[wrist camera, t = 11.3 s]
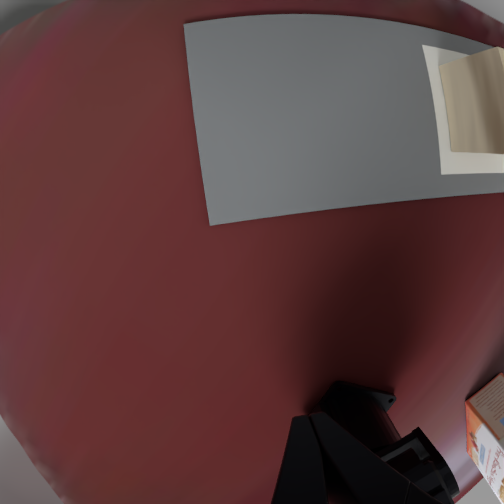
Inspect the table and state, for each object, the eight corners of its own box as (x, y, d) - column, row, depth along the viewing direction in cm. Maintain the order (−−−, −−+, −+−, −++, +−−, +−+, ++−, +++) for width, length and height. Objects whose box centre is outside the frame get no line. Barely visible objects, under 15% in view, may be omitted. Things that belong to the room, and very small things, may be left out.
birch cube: (499, 46, 10) (437, 66, 16) (517, 155, 11) (450, 151, 17) (549, 68, 10) (492, 78, 16) (562, 159, 11) (502, 153, 17)
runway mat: (509, 54, 15) (512, 54, 15) (525, 189, 19) (529, 190, 18) (184, 26, 15) (183, 24, 14) (210, 224, 18) (210, 225, 17)
